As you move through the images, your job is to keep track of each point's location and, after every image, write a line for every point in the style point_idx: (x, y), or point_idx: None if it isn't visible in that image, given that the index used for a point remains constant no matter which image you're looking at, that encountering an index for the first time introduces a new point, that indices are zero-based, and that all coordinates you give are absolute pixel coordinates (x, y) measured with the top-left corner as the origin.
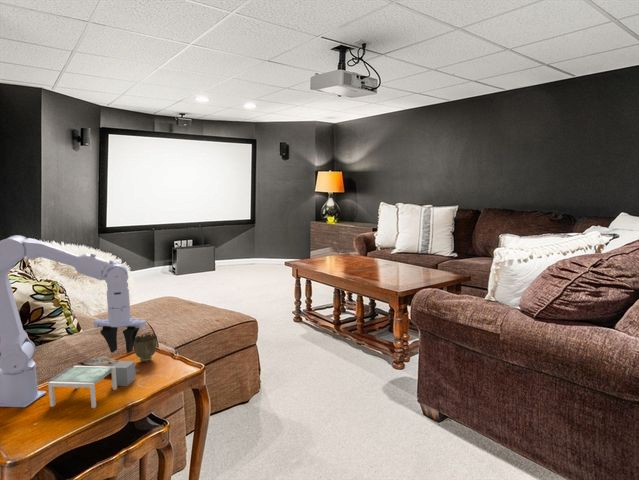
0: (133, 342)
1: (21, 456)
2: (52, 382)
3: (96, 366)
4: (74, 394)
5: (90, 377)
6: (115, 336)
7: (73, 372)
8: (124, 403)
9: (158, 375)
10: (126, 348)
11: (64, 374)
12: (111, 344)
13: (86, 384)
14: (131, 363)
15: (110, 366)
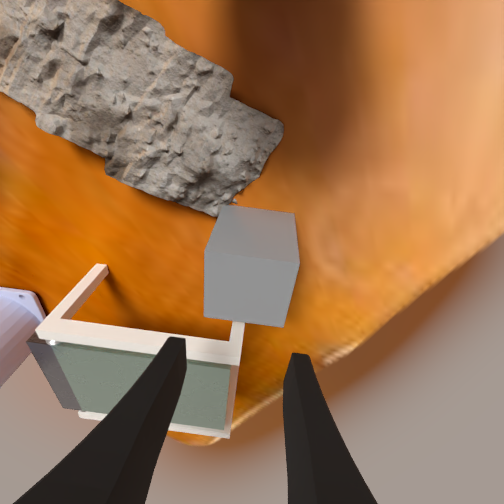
0: (327, 417)
1: (202, 445)
2: (91, 418)
3: (147, 347)
4: (130, 303)
5: (193, 411)
6: (134, 458)
7: (94, 377)
8: (311, 356)
9: (400, 187)
10: (286, 422)
11: (75, 384)
12: (164, 435)
13: (209, 433)
14: (290, 288)
15: (105, 113)
